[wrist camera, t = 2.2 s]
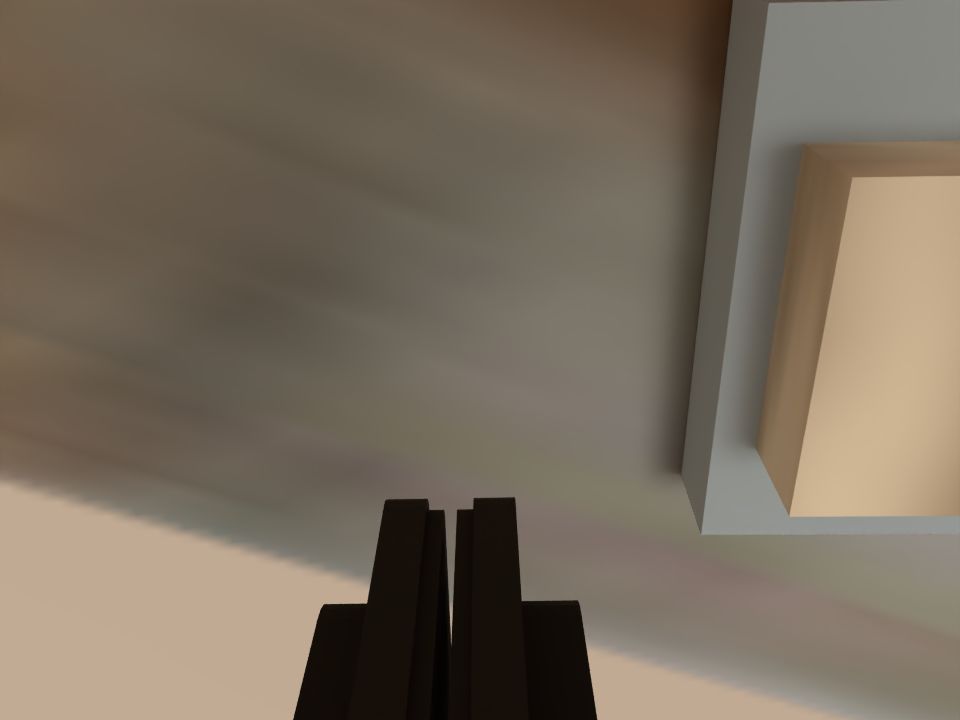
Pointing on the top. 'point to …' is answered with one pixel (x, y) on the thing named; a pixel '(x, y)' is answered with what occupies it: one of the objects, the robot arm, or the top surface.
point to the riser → (768, 212)
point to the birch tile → (868, 335)
